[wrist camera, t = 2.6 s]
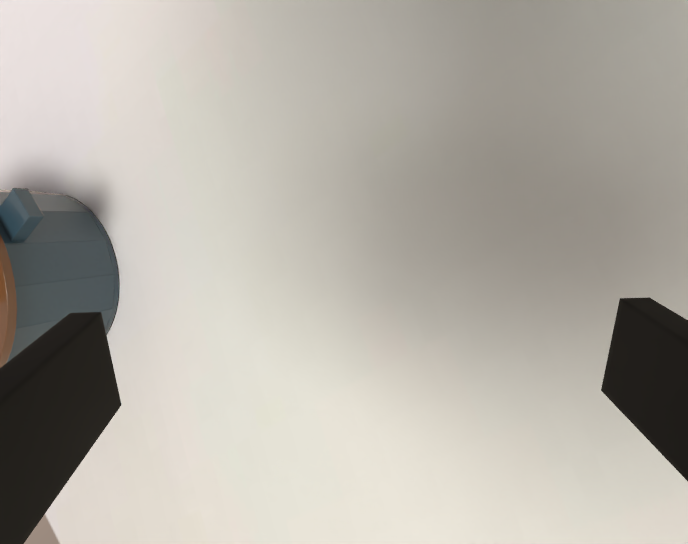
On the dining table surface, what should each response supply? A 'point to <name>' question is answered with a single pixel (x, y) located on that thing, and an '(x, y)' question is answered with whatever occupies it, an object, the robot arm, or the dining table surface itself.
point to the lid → (6, 305)
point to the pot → (56, 262)
